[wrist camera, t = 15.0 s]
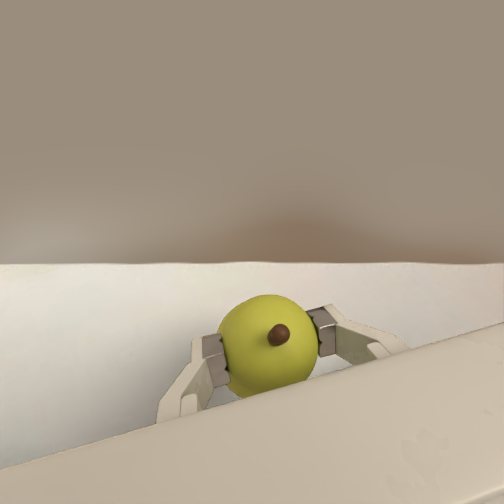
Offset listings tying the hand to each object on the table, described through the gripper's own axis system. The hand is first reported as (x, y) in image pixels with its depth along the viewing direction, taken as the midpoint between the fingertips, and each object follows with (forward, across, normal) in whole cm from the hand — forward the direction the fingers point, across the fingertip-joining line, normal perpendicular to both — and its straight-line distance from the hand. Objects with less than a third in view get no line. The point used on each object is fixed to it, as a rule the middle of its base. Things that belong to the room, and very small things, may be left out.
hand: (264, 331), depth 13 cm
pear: (+4, 0, +5) cm, 6 cm away
